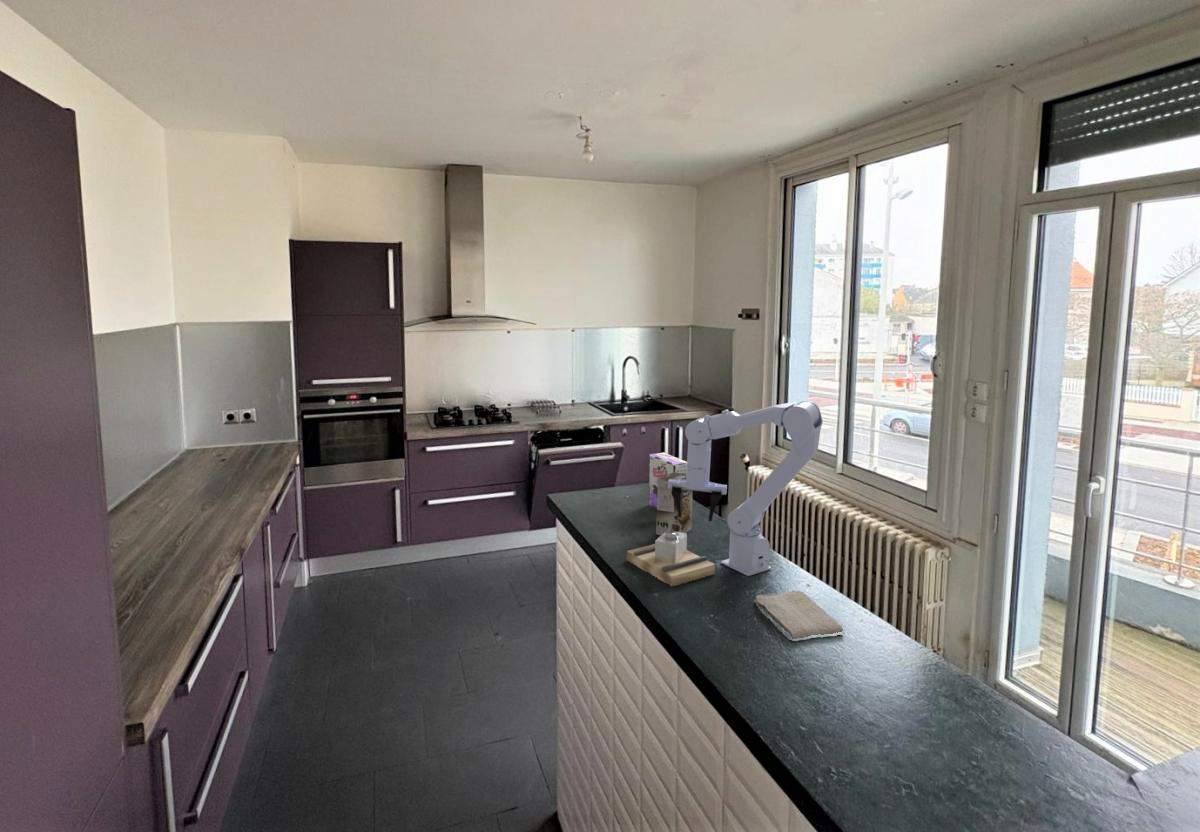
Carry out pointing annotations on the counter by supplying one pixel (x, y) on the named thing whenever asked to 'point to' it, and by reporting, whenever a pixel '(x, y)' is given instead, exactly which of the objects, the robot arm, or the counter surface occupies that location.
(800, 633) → the washcloth
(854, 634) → the counter surface
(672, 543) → the block
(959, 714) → the counter surface
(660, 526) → the coffee box
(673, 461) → the candy box
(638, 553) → the stand
